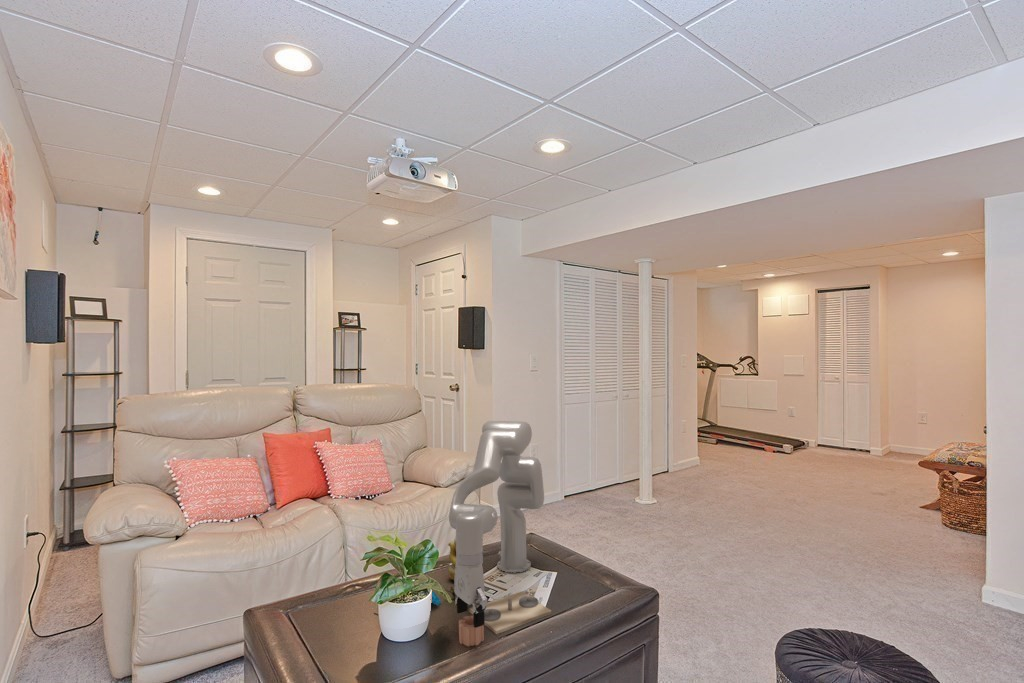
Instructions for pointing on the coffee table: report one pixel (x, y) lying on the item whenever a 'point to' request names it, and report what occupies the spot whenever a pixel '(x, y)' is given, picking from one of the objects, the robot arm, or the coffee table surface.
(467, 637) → the gear wheel
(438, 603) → the gear
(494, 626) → the board
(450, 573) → the decorative figurine
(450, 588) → the eagle figurine
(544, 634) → the coffee table surface
